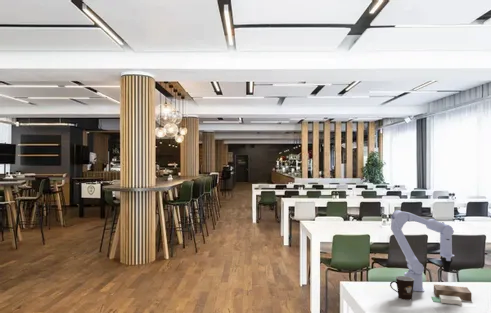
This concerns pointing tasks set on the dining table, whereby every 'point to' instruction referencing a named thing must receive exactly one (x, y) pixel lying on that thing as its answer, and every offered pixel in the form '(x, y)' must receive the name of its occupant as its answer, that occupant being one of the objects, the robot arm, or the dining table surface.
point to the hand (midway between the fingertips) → (446, 271)
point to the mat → (436, 299)
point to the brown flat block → (453, 291)
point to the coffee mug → (404, 287)
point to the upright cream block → (450, 299)
